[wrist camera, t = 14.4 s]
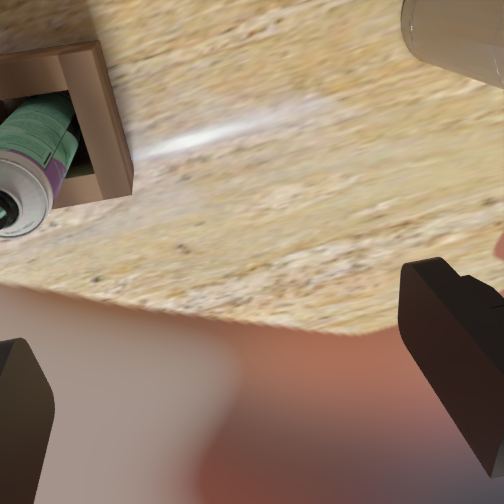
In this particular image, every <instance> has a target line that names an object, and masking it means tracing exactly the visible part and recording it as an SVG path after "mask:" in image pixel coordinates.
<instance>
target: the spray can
mask: <svg viewBox="0 0 504 504" xmlns="http://www.w3.org/2000/svg"><path fill="white" fill-rule="evenodd" d="M82 135H83V134H82V131H81V128H80V125H79V122H78V119H77V115H76V112H75V109H74V106H73V103H72V100H71V98H70V97H69V96H67V95H65V94H63V93H61V92H58V91H57V92H51V93H45V94H38V95H32V96H29V97H28V98H27V99H26V100H25V101H24V102H23V103H22V104H21V105H20V106H19V107H18V108H17V109H16V110H15V111H14V112H13V113H12V114H11V115H10V116H9V117H8V118H7V119H6V120H5V121H4V122H3V123H2V124H1V125H0V239H16V238H21V237H24V236H27V235H29V234H31V233H33V232H34V231H36V230H37V229H38V228H39V227H40V226H41V225H42V224H43V222H44V221H45V220H46V219H47V217H48V216H49V214H50V212H51V209H52V207H53V205H54V202H55V200H56V197H57V195H58V193H59V190H60V188H61V186H62V183H63V181H64V178H65V176H66V174H67V171H68V169H69V166H70V164H71V162H72V159H73V157H74V155H75V152H76V150H77V147H78V145H79V143H80V140H81V138H82Z"/></svg>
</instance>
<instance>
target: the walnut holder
mask: <svg viewBox="0 0 504 504" xmlns="http://www.w3.org/2000/svg"><path fill="white" fill-rule="evenodd" d="M64 90H69V93H70V97H71V100H72V103H73V106H74V109H75V112H76V115H77V119H78V122H79V125H80V128H81V131H82V134H83V137H84V141H85V144H86V147H87V150H88V153H85V154H80V155H74V157H73V159H72V162H71V164H70V166H69V169H68V171H67V174H66V176H65V178H64V181H63V183H62V186H61V188H60V190H59V193H58V195H57V197H56V200H55V202H54V205H53V207H52V209H57V208H62V207H68V206H73V205H79V204H84V203H90V202H95V201H101V200H106V199H112V198H118V197H123V196H129V195H132V187H133V176H134V169H133V165H132V161H131V157H130V154H129V150H128V146H127V143H126V139H125V135H124V131H123V128H122V124H121V120H120V116H119V113H118V109H117V105H116V102H115V98H114V94H113V90H112V87H111V83H110V79H109V75H108V72H107V68H106V64H105V61H104V57H103V53H102V49H101V46H100V42H99V40H96V41H89V42H83V43H76V44H69V45H62V46H56V47H49V48H42V49H36V50H29V51H22V52H16V53H9V54H2V55H0V125H1V124H2V123H3V122H4V121H5V120H6V119H7V118H8V114H7V112H6V109H5V106H4V104H3V101H2V100H7V99H13V98H19V97H26V96H32V95H38V94H45V93H51V92H57V91H64Z"/></svg>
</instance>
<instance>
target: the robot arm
mask: <svg viewBox="0 0 504 504" xmlns="http://www.w3.org/2000/svg"><path fill="white" fill-rule="evenodd" d="M401 27H402V34H403V38H404V41H405V43H406V45H407V47H408V49H409V50H410V52H411V53H412V54H413V55H414V56H415V57H416V58H418V59H419V60H421V61H423V62H426V63H429V64H432V65H435V66H437V67H440V68H443V69H445V70H448V71H451V72H454V73H457V74H460V75H463V76H466V77H469V78H472V79H475V80H478V81H481V82H484V83H487V84H489V85H492V86H495V87H498V88H501V89H504V0H405V2H404V6H403V10H402V17H401ZM398 326H399V331H400V334H401V337H402V340H403V342H404V344H405V346H406V347H407V349H408V351H409V352H410V354H411V355H412V357H413V359H414V360H415V362H416V363H417V365H418V366H419V368H420V369H421V371H422V372H423V374H424V376H425V377H426V379H427V380H428V382H429V384H430V385H431V387H432V388H433V390H434V391H435V393H436V394H437V396H438V397H439V399H440V401H441V402H442V404H443V405H444V407H445V408H446V410H447V412H448V413H449V415H450V416H451V418H452V419H453V421H454V422H455V424H456V426H457V427H458V429H459V430H460V432H461V433H462V435H463V436H464V438H465V440H466V441H467V443H468V444H469V446H470V447H471V449H472V450H473V452H474V454H475V455H476V457H477V458H478V460H479V461H480V463H481V465H482V466H483V468H484V469H485V471H486V472H487V474H488V476H489V477H490V478H491V479H492V478H496V477H501V476H504V298H503V297H502V296H501V295H500V294H499V293H498V292H497V291H496V290H495V289H494V288H493V287H491V286H489V285H487V284H485V283H483V282H482V281H480V280H478V279H476V278H474V277H472V276H470V275H466V276H461V277H460V276H459V275H458V274H457V273H456V271H455V270H454V269H453V268H452V267H451V266H450V265H449V264H448V263H447V262H446V261H445V260H444V259H442V258H441V257H435V258H430V259H425V260H419V261H414V262H409V263H405V264H404V265H403V266H402V269H401V276H400V291H399V306H398ZM54 414H55V403H54V397H53V393H52V390H51V387H50V385H49V383H48V382H47V379H46V377H45V375H44V373H43V371H42V369H41V367H40V365H39V363H38V362H37V360H36V358H35V356H34V354H33V352H32V350H31V348H30V346H29V344H28V343H27V341H26V340H25V339H23V338H16V339H11V340H6V341H1V342H0V504H34V499H35V495H36V491H37V487H38V483H39V479H40V474H41V470H42V466H43V461H44V458H45V454H46V449H47V445H48V441H49V437H50V432H51V429H52V424H53V420H54Z"/></svg>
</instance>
